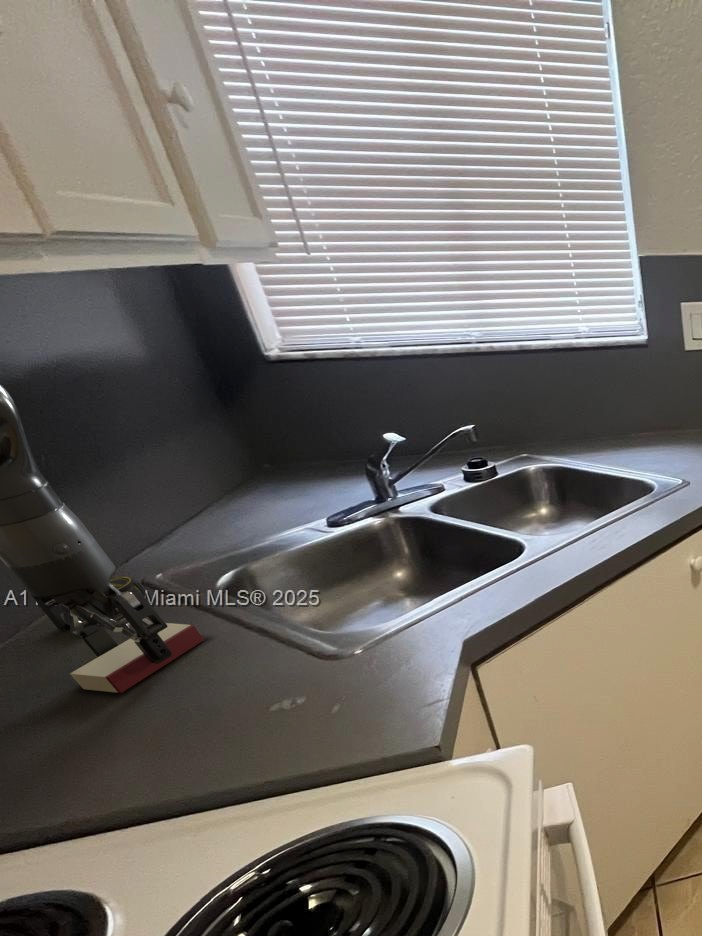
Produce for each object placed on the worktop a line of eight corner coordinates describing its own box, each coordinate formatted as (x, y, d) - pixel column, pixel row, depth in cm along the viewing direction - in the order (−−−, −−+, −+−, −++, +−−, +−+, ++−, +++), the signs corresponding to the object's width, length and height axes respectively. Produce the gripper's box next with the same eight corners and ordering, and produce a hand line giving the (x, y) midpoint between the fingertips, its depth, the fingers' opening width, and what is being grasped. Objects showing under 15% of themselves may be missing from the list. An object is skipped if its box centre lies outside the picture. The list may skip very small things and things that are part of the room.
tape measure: (81, 616, 94) (64, 595, 92) (134, 592, 100) (119, 572, 98) (109, 623, 92) (91, 602, 90) (161, 598, 97) (146, 578, 95)
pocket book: (169, 637, 88) (158, 622, 87) (204, 640, 87) (193, 624, 86) (83, 689, 79) (69, 673, 78) (121, 693, 78) (107, 677, 77)
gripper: (131, 536, 75) (208, 644, 84) (40, 531, 78) (124, 636, 86) (60, 568, 69) (151, 680, 78) (-37, 562, 71) (62, 671, 80)
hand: (136, 657), depth 82 cm, fingers open, 8 cm apart
